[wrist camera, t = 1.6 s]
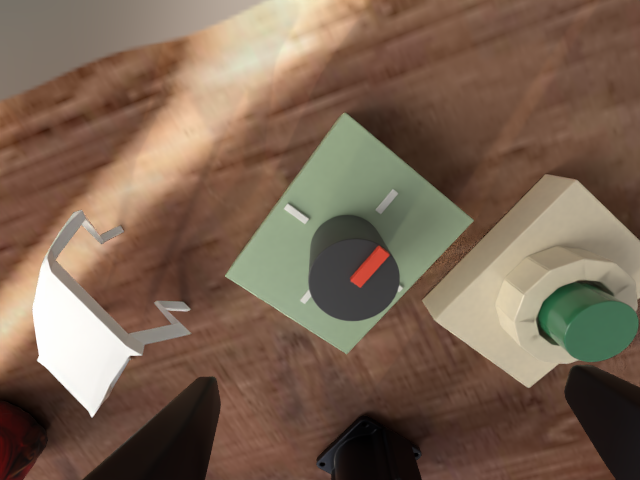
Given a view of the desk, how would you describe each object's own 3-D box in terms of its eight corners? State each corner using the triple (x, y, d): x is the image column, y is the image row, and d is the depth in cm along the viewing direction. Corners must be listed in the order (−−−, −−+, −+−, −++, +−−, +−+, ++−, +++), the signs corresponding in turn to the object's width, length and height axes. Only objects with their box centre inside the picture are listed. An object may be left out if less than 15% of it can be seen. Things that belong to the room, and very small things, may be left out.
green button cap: (564, 348, 18) (594, 373, 16) (524, 316, 18) (549, 339, 16) (616, 305, 17) (654, 326, 16) (576, 269, 17) (609, 287, 15)
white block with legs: (220, 346, 23) (195, 399, 18) (116, 371, 24) (67, 430, 19) (147, 189, 19) (92, 207, 15) (26, 225, 20) (-62, 253, 15)
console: (343, 326, 23) (347, 356, 20) (237, 256, 21) (223, 277, 18) (452, 208, 20) (475, 221, 17) (340, 114, 18) (345, 111, 15)
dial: (351, 294, 18) (360, 340, 14) (295, 255, 18) (289, 293, 13) (397, 243, 17) (421, 277, 13) (340, 199, 16) (347, 221, 12)
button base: (507, 363, 24) (549, 413, 20) (421, 300, 22) (446, 340, 18) (632, 256, 21) (713, 287, 17) (545, 173, 19) (610, 184, 15)
